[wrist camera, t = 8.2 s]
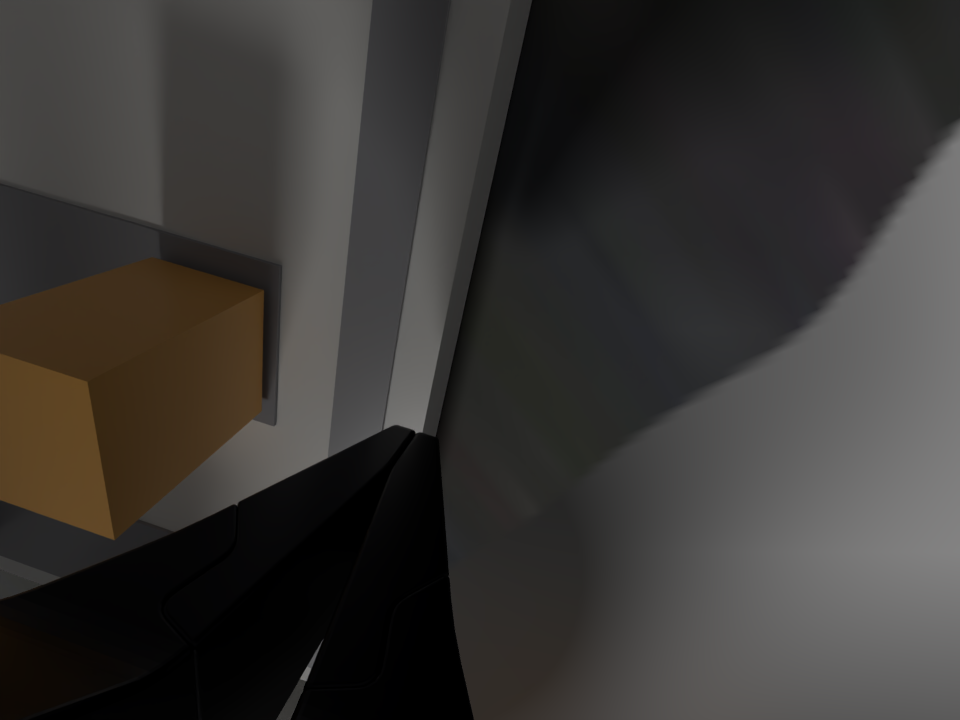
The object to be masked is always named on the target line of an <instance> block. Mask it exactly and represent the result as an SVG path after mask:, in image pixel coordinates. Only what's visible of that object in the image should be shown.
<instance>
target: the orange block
mask: <svg viewBox="0 0 960 720" xmlns="http://www.w3.org/2000/svg"><path fill="white" fill-rule="evenodd" d="M263 316H264V290H262V289H258V288H255V287H252V286H248V285H245V284H241V283H238V282H235V281H231V280H228V279H225V278H221V277H218V276H215V275H211V274H208V273H204V272H201V271H198V270H194V269H191V268H188V267H184V266H181V265H177V264H174V263H171V262H167V261H164V260H161V259H157V258H154V257H151V258H148V259H144V260H141V261H138V262H135V263H132V264H128V265H125V266H122V267H119V268H116V269H113V270H109V271H106V272H103V273H100V274H97V275H93V276H90V277H87V278H84V279H81V280H78V281H74V282H71V283H68V284H65V285H62V286H58V287H55V288H52V289H49V290H46V291H43V292H39V293H36V294H33V295H30V296H27V297H23V298H20V299H17V300H14V301H11V302H8V303H4V304H1V305H0V500H2V501H4V502H7V503H10V504H13V505H16V506H19V507H21V508H24V509H27V510H30V511H33V512H36V513H38V514H41V515H44V516H47V517H50V518H53V519H56V520H58V521H61V522H64V523H67V524H70V525H73V526H75V527H78V528H81V529H84V530H87V531H90V532H93V533H95V534H98V535H101V536H104V537H107V538H110V539H112V540H115V539H117V538H118V537H119V536H120V535H121V534H122V533H123V532H125V531H126V530H127V529H128V528H129V527H130V526H131V525H133V524H134V523H135V522H136V521H137V520H138V519H139V518H141V517H142V516H143V515H144V514H145V513H146V512H147V511H148V510H150V509H151V508H152V507H153V506H154V505H155V504H156V503H158V502H159V501H160V500H161V499H162V498H163V497H164V496H166V495H167V494H168V493H169V492H170V491H171V490H172V489H174V488H175V487H176V486H177V485H178V484H179V483H180V482H182V481H183V480H184V479H185V478H186V477H187V476H188V475H190V474H191V473H192V472H193V471H194V470H195V469H196V468H198V467H199V466H200V465H201V464H202V463H203V462H204V461H206V460H207V459H208V458H209V457H210V456H211V455H212V454H214V453H215V452H216V451H217V450H218V449H219V448H220V447H221V446H223V445H224V444H225V443H226V442H227V441H228V440H229V439H231V438H232V437H233V436H234V435H235V434H236V433H237V432H239V431H240V430H241V429H242V428H243V427H244V426H245V425H247V424H248V423H249V422H250V421H251V420H252V419H253V418H255V417H256V416H257V415H258V414H259V413H260V412H261V411H262V368H263Z"/></svg>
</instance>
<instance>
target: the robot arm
mask: <svg viewBox="0 0 960 720" xmlns="http://www.w3.org/2000/svg"><path fill="white" fill-rule="evenodd" d="M448 576H449V568H448V555H447V542H446V529H445V516H444V503H443V490H442V477H441V464H440V451H439V440H438V438H437V437H435V436H431V435H428V434H425V433H422V432H418V433H416V432H415V431H414V430H412V429H409V428H406V427H403V426H400V425H393V426H391V427H389V428H387V429H385V430H382V431H380V432H378V433H376V434H374V435H372V436H370V437H368V438H366V439H364V440H362V441H360V442H358V443H356V444H354V445H352V446H350V447H348V448H346V449H344V450H342V451H340V452H338V453H336V454H334V455H332V456H330V457H328V458H326V459H324V460H322V461H320V462H318V463H316V464H314V465H312V466H310V467H308V468H306V469H304V470H302V471H300V472H298V473H296V474H294V475H292V476H290V477H287V478H285V479H283V480H281V481H279V482H277V483H275V484H273V485H271V486H269V487H267V488H265V489H263V490H261V491H259V492H257V493H255V494H253V495H251V496H249V497H247V498H245V499H243V500H241V501H239V502H238V504H237V505H236V504H233V505H230V506H228V507H226V508H224V509H222V510H220V511H218V512H216V513H214V514H212V515H210V516H208V517H206V518H204V519H202V520H199V521H197V522H195V523H193V524H191V525H189V526H187V527H184V528H182V529H180V530H178V531H176V532H173V533H171V534H168V535H166V536H164V537H161V538H159V539H156V540H154V541H152V542H149V543H147V544H144V545H142V546H140V547H137V548H135V549H132V550H130V551H127V552H125V553H122V554H119V555H117V556H114V557H112V558H109V559H107V560H104V561H102V562H99V563H97V564H94V565H92V566H89V567H87V568H84V569H82V570H79V571H76V572H74V573H71V574H69V575H66V576H64V577H61V578H59V579H56V580H54V581H51V582H49V583H46V584H44V585H41V586H38V587H36V588H33V589H31V590H28V591H25V592H22V593H20V594H17V595H14V596H11V597H7V598H4V599H0V720H276V719H277V717H278V716H279V714H280V712H281V711H282V709H283V707H284V705H285V704H286V702H287V700H288V699H289V697H290V695H291V693H292V692H293V690H294V688H295V686H296V685H297V683H298V681H299V680H300V678H301V676H302V674H303V673H304V671H305V669H306V668H307V666H308V664H309V662H310V661H311V659H312V657H313V656H314V654H315V652H316V650H317V649H318V647H319V645H320V644H321V646H320V648H319V651H318V653H317V656H316V658H315V661H314V663H313V666H312V668H311V671H310V673H309V676H308V678H307V681H306V683H305V686H304V689H303V693H302V694H301V696H300V699H299V701H298V704H297V706H296V708H295V711H294V713H293V715H292V718H291V720H474V718H473V713H472V709H471V704H470V700H469V696H468V691H467V687H466V682H465V678H464V673H463V669H462V665H461V660H460V654H459V649H458V644H457V639H456V633H455V627H454V619H453V610H452V603H451V592H450V579H449V577H448ZM322 640H323V641H322ZM321 642H322V643H321Z"/></svg>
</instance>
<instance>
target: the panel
mask: <svg viewBox="0 0 960 720" xmlns="http://www.w3.org/2000/svg"><path fill="white" fill-rule="evenodd" d="M531 3H532V0H0V305H1V304H4V303H8V302H11V301H14V300H17V299H20V298H23V297H27V296H30V295H33V294H36V293H39V292H43V291H46V290H49V289H52V288H55V287H58V286H62V285H65V284H68V283H71V282H74V281H78V280H81V279H84V278H87V277H90V276H93V275H97V274H100V273H103V272H106V271H109V270H113V269H116V268H119V267H122V266H125V265H128V264H132V263H135V262H138V261H141V260H144V259H148V258H151V257H154V258H157V259H161V260H164V261H167V262H171V263H174V264H177V265H181V266H184V267H188V268H191V269H194V270H198V271H201V272H204V273H208V274H211V275H215V276H218V277H221V278H225V279H228V280H231V281H235V282H238V283H241V284H245V285H248V286H252V287H255V288H258V289H262V290H264V316H263V368H262V411H261V412H260V413H259V414H258V415H257V416H256V417H255V418H253V419H252V420H251V421H250V422H249V423H248V424H247V425H245V426H244V427H243V428H242V429H241V430H240V431H239V432H237V433H236V434H235V435H234V436H233V437H232V438H231V439H229V440H228V441H227V442H226V443H225V444H224V445H223V446H221V447H220V448H219V449H218V450H217V451H216V452H215V453H214V454H212V455H211V456H210V457H209V458H208V459H207V460H206V461H204V462H203V463H202V464H201V465H200V466H199V467H198V468H196V469H195V470H194V471H193V472H192V473H191V474H190V475H188V476H187V477H186V478H185V479H184V480H183V481H182V482H180V483H179V484H178V485H177V486H176V487H175V488H174V489H172V490H171V491H170V492H169V493H168V494H167V495H166V496H164V497H163V498H162V499H161V500H160V501H159V502H158V503H156V504H155V505H154V506H153V507H152V508H151V509H150V510H148V511H147V512H146V513H145V514H144V515H143V516H142V517H141V518H139V519H138V520H137V521H136V522H135V523H134V524H133V525H131V526H130V527H129V528H128V529H127V530H126V531H125V532H123V533H122V534H121V535H120V536H119V537H118V538H117V539H115V540H112V539H110V538H107V537H104V536H101V535H98V534H95V533H93V532H90V531H87V530H84V529H81V528H78V527H75V526H73V525H70V524H67V523H64V522H61V521H58V520H56V519H53V518H50V517H47V516H44V515H41V514H38V513H36V512H33V511H30V510H27V509H24V508H21V507H19V506H16V505H13V504H10V503H7V502H4V501H2V500H0V570H3V571H5V572H8V573H11V574H14V575H16V576H19V577H22V578H25V579H27V580H30V581H33V582H35V583H38V584H41V585H44V584H46V583H49V582H51V581H54V580H56V579H59V578H61V577H64V576H66V575H69V574H71V573H74V572H76V571H79V570H82V569H84V568H87V567H89V566H92V565H94V564H97V563H99V562H102V561H104V560H107V559H109V558H112V557H114V556H117V555H119V554H122V553H125V552H127V551H130V550H132V549H135V548H137V547H140V546H142V545H144V544H147V543H149V542H152V541H154V540H156V539H159V538H161V537H164V536H166V535H168V534H171V533H173V532H176V531H178V530H180V529H182V528H184V527H187V526H189V525H191V524H193V523H195V522H197V521H199V520H202V519H204V518H206V517H208V516H210V515H212V514H214V513H216V512H218V511H220V510H222V509H224V508H226V507H228V506H230V505H233V504H236V505H237V504H238V502H239V501H241V500H243V499H245V498H247V497H249V496H251V495H253V494H255V493H257V492H259V491H261V490H263V489H265V488H267V487H269V486H271V485H273V484H275V483H277V482H279V481H281V480H283V479H285V478H287V477H290V476H292V475H294V474H296V473H298V472H300V471H302V470H304V469H306V468H308V467H310V466H312V465H314V464H316V463H318V462H320V461H322V460H324V459H326V458H328V457H330V456H332V455H334V454H336V453H338V452H340V451H342V450H344V449H346V448H348V447H350V446H352V445H354V444H356V443H358V442H360V441H362V440H364V439H366V438H368V437H370V436H372V435H374V434H376V433H378V432H380V431H382V430H385V429H387V428H389V427H391V426H393V425H400V426H403V427H406V428H409V429H412V430H414V431H415V432H416V433H418V432H422V433H425V434H428V435H431V436H435V437H436V433H437V428H438V424H439V419H440V415H441V410H442V406H443V401H444V397H445V392H446V388H447V383H448V379H449V374H450V370H451V365H452V360H453V356H454V351H455V347H456V342H457V338H458V333H459V329H460V324H461V320H462V315H463V311H464V306H465V302H466V297H467V293H468V288H469V284H470V279H471V275H472V270H473V265H474V261H475V256H476V252H477V247H478V243H479V238H480V234H481V229H482V225H483V220H484V216H485V211H486V207H487V202H488V198H489V193H490V189H491V184H492V180H493V175H494V170H495V166H496V161H497V157H498V152H499V148H500V143H501V139H502V134H503V130H504V125H505V121H506V116H507V112H508V107H509V103H510V98H511V94H512V89H513V85H514V80H515V75H516V71H517V66H518V62H519V57H520V53H521V48H522V44H523V39H524V35H525V30H526V26H527V21H528V17H529V12H530V8H531ZM322 641H323V640H322ZM321 643H322V642H321ZM320 646H321V644H320V645H319V647H318V649H317V650H316V652H315V654H314V656H313V657H312V659H311V661H310V662H309V664H308V666H307V668H306V669H305V671H304V673H303V674H302V676H301V678H300V679H301V680H304V681H307V678H308V676H309V673H310V671H311V668H312V666H313V663H314V661H315V658H316V656H317V653H318V651H319V648H320Z"/></svg>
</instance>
